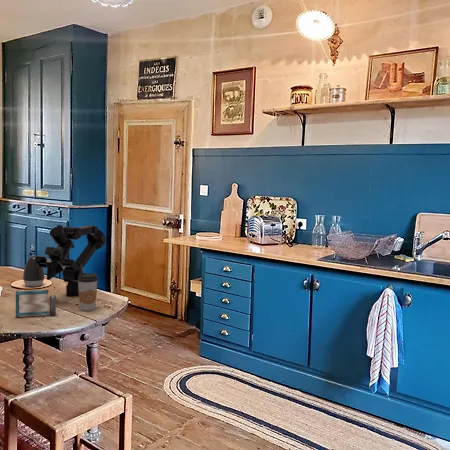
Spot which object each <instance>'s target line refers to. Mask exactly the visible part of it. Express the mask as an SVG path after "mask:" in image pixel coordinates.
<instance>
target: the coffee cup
mask: <svg viewBox="0 0 450 450" xmlns="http://www.w3.org/2000/svg"><path fill="white" fill-rule="evenodd" d="M98 278H99V277H98V275H97V274H96V273H93V272H92V273H91V272H85V273H84V272H83V274H79V277H78V287H79V296H78V303H79V304H78V305H79V309H80V310H81V311H84V312H89V311H90V310H91V311H94V310H95V308H96V301H97V291H98V290H97V289H98V280H99V279H98ZM91 311H90V312H91Z"/></svg>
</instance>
